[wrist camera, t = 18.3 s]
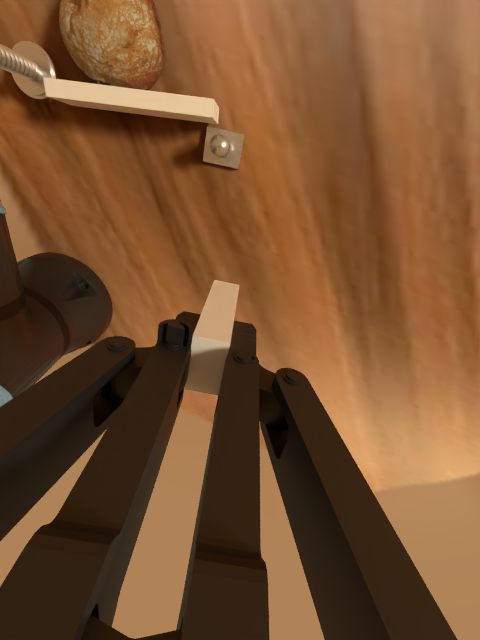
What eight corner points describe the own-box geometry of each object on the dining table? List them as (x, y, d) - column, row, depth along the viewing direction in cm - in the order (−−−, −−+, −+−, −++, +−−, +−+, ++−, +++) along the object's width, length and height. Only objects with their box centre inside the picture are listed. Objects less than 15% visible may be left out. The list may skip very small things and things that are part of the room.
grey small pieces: (203, 161, 36) (196, 159, 31) (247, -187, 24) (245, -268, 20) (238, 169, 36) (236, 168, 32) (298, -172, 24) (308, -249, 20)
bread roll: (96, 81, 36) (67, 103, 31) (57, -54, 28) (11, -53, 23) (176, 87, 36) (160, 110, 31) (161, -48, 28) (136, -46, 23)
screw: (14, 71, 33) (40, 36, 31) (49, 113, 34) (75, 82, 33) (-118, 16, 21) (-87, -43, 20) (-56, 83, 23) (-23, 32, 21)
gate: (218, 124, 33) (212, 117, 29) (72, 105, 33) (46, 96, 29) (219, 108, 32) (213, 98, 28) (70, 89, 32) (43, 77, 28)
